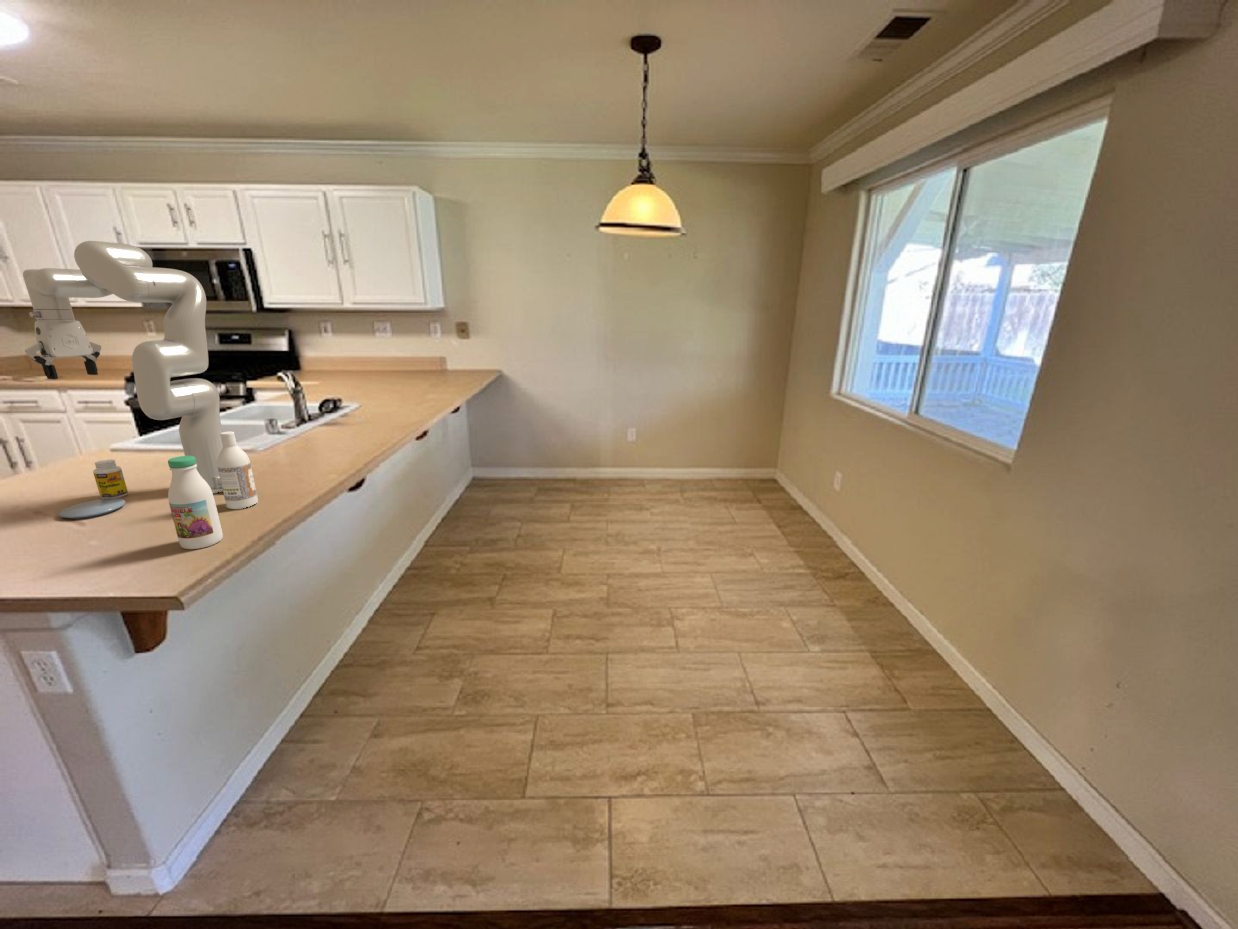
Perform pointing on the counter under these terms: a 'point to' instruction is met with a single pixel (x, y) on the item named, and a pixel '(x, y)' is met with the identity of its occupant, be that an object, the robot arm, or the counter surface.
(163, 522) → the counter surface
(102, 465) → the supplement bottle
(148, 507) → the counter surface
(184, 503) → the milk bottle
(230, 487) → the bath foam
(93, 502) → the dish
